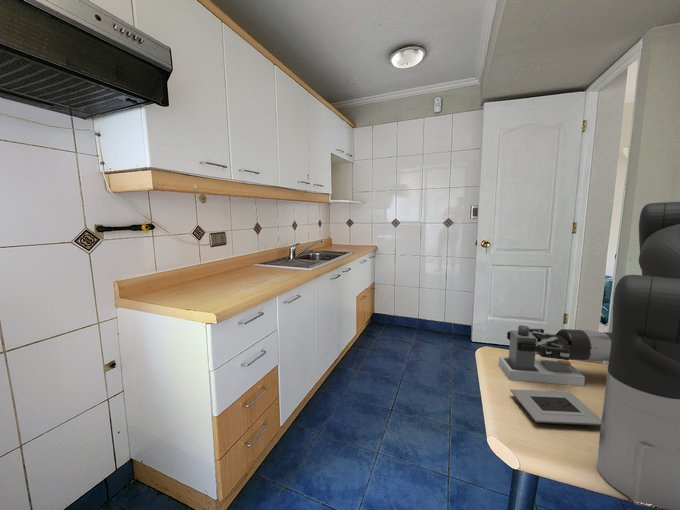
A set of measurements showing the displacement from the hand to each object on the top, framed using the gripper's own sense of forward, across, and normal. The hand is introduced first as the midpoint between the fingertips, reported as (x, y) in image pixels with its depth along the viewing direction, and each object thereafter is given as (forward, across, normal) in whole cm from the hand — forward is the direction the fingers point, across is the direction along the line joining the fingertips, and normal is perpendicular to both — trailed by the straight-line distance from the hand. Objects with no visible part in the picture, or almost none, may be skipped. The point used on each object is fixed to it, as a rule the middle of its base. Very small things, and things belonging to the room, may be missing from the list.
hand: (512, 340), depth 77 cm
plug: (-3, 0, +9) cm, 9 cm away
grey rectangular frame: (-7, 0, +9) cm, 11 cm away
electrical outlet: (-3, +16, +10) cm, 19 cm away
